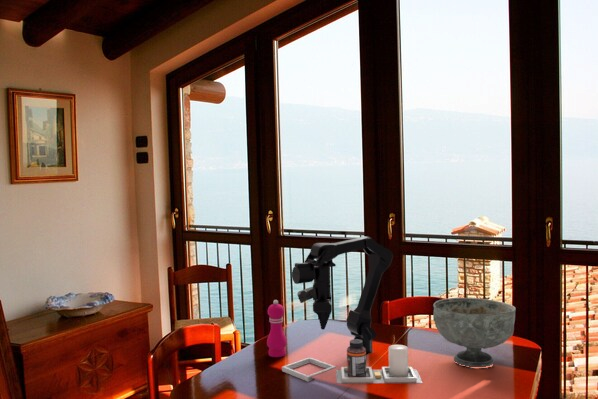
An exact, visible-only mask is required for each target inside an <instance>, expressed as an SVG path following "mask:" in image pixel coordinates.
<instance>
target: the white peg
mask: <svg viewBox="0 0 598 399" xmlns="http://www.w3.org/2000/svg"><path fill="white" fill-rule="evenodd" d="M388 367H389V377H408V367H409V347H408V346H406V345H403V344H392V345H389V346H388Z"/></svg>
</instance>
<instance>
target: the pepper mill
mask: <svg viewBox="0 0 598 399" xmlns="http://www.w3.org/2000/svg"><path fill="white" fill-rule="evenodd" d="M267 315H268V316H269V320H268V321H269V323H270V331H269V335H268V336H267V340H266V346H267V347H268V348H269V349H268V356H269V357H272V358H282V357H284V356H286V354H287V353H286V352H287V351H286V346H287V344H288V342H287V337H286V335H285V332H284V330H283V322H284V317H283V315H285V309H284V306H283V305H282V304H280V303H279V300H277V299H274V300H273V303H272V304H270V305H269V306H268V308H267Z"/></svg>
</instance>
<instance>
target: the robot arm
mask: <svg viewBox="0 0 598 399" xmlns="http://www.w3.org/2000/svg"><path fill="white" fill-rule="evenodd" d="M360 250H363V251H364V252H365V254H367V255H368V259H367V264H368V273H367V275H366V278H365V281H364V285H363V288H362V292H361V294H360V297H359V301H358V304H357V306H356V307H355V309H354V310H352V309H350V310H349V312H348V314H347V318H346V319H345V321H346V327H347V329H348V330H349V332H350V335H352V336H353V337H354V338H353V339H359V340H362V343H363V345H362V346H363V347H364V348H365V349H366V356H367V355H369V354H372V353H375V351H374V350H373V340H375V339H376V337H377V332H376V331H375V329H373V328H372V327H371V324H372V316H371V310H372V307H373V304H374V302H375V298H376V294H377V291H378V289H379V286H380V282H381V279H382V277H383V276H382V275H383V274H384V272H386V270H387V269H388V268H389V267H390V266H391V264H392V261H393V258H394V255H393V252H392V251H391V249H389V248H386V247H385V246H383V245H382V244H380V243H378V242H376V240H374V239H373V238H372V237H370V236H360V237H357V238H352V239H346V240H343V241H337V242H331V243H330V242H316V243H313V245H312V246H311V248H310V251H309V253H308V255H307V256H306V258H305V260H304V262H295V263H294V267H293V268H292V272H291V278H292V281H293V283H294V284H296V285H298V284H305V283H312V286H310V287H308V288H304V289H302V290H300V291H298V292H297V294H296V295H297V297H298V298H297V299H298V300H299V302H300V304H303V303H305V302H307V301H309V300H311V299H312V300H313V303H312V312H313V313H314V314H315V315H317V317H318V320H319V326H320V330H325V329H326V326H327V325H328V321H329V318H330V316H331V313H332V311H333V304H332V292H331V290H332V289H331V286H332V285H331V268H332V267H336V266H337V264H336V263H334V262H333V261H332V260H334V259H336V258H337V257H338V256H339V255H340V256H341V255H343V254H347V253H352V252H356V251H360Z"/></svg>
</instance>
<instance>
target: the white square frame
mask: <svg viewBox="0 0 598 399" xmlns="http://www.w3.org/2000/svg"><path fill="white" fill-rule="evenodd" d="M309 363H310V364H313V365H315V366H317V367H321V368H323V369H322V370H320V371H319V370H318V371H317V372H314V373H311V374H306V373H305V374H304V373H302V372H300V371H297V370H294V369H297V368H299V367H301V366H305V365H306V364H309ZM336 368H337V367H336V365H333V364H330V363H328V362H324V361H321V360H319V359H316V358H313V357H306V358H303V359H301V360H297V361H295V362H292V363H289V364H285V365H283V366H281V371H282V372H283V373H286V374H288V375H291V376H293V377H295V378H298V379H301V380H303V381H305V382H311V381H314V380H315V378H312V377H314V376H317V375H320V374H322V373H325V372H327V371H331V370H333V369H336Z"/></svg>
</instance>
